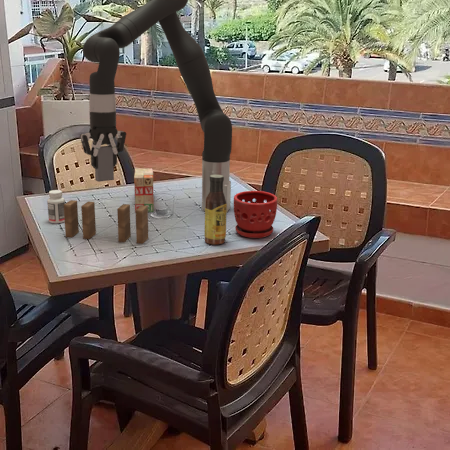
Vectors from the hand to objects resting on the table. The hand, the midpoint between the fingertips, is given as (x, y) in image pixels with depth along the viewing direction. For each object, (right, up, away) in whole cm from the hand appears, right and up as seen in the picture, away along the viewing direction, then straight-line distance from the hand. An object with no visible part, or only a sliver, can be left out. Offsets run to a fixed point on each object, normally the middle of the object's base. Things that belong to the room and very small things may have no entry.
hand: (104, 167), depth 193 cm
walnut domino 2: (-5, -20, +2) cm, 21 cm away
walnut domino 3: (+6, -21, 0) cm, 22 cm away
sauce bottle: (+33, -22, -1) cm, 40 cm away
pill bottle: (-18, -16, +15) cm, 28 cm away
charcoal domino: (0, -4, +1) cm, 4 cm away
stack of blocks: (+7, -10, +36) cm, 38 cm away
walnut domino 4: (+11, -22, -1) cm, 25 cm away
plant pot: (+45, -20, +6) cm, 49 cm away
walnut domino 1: (-10, -20, +3) cm, 23 cm away
